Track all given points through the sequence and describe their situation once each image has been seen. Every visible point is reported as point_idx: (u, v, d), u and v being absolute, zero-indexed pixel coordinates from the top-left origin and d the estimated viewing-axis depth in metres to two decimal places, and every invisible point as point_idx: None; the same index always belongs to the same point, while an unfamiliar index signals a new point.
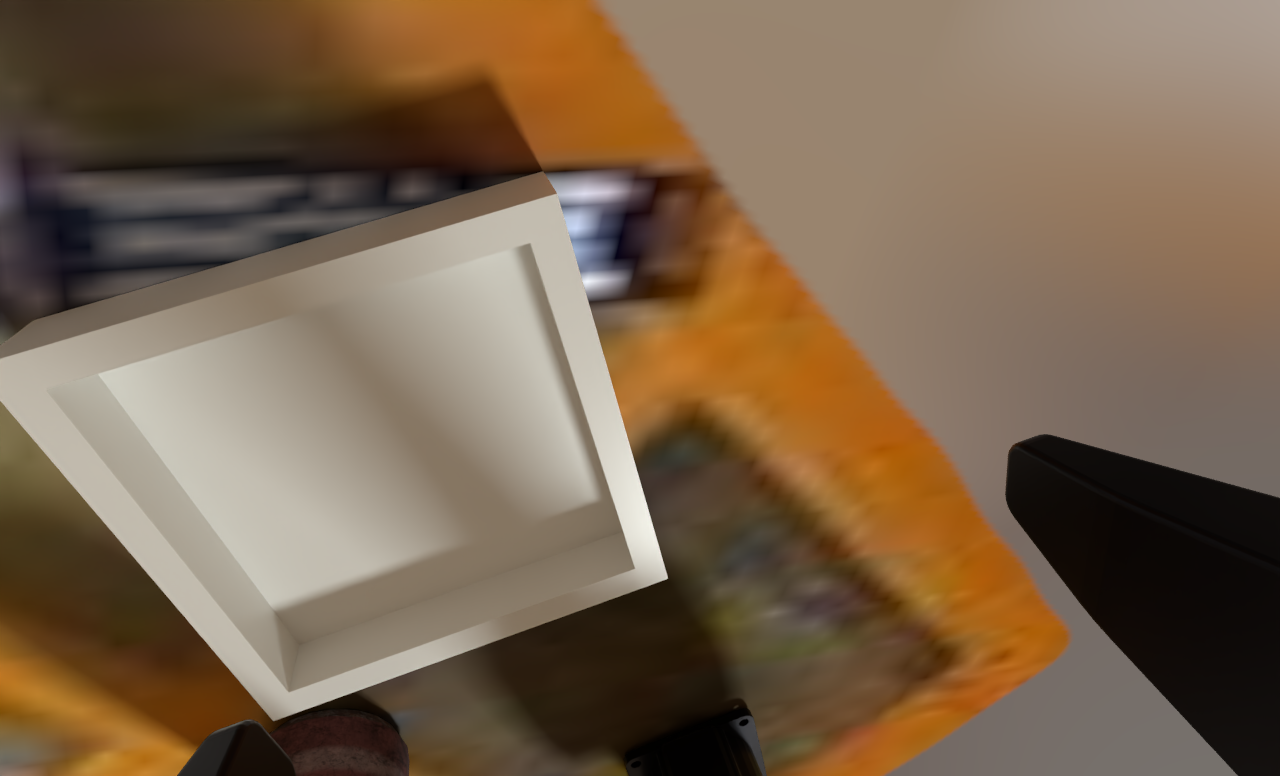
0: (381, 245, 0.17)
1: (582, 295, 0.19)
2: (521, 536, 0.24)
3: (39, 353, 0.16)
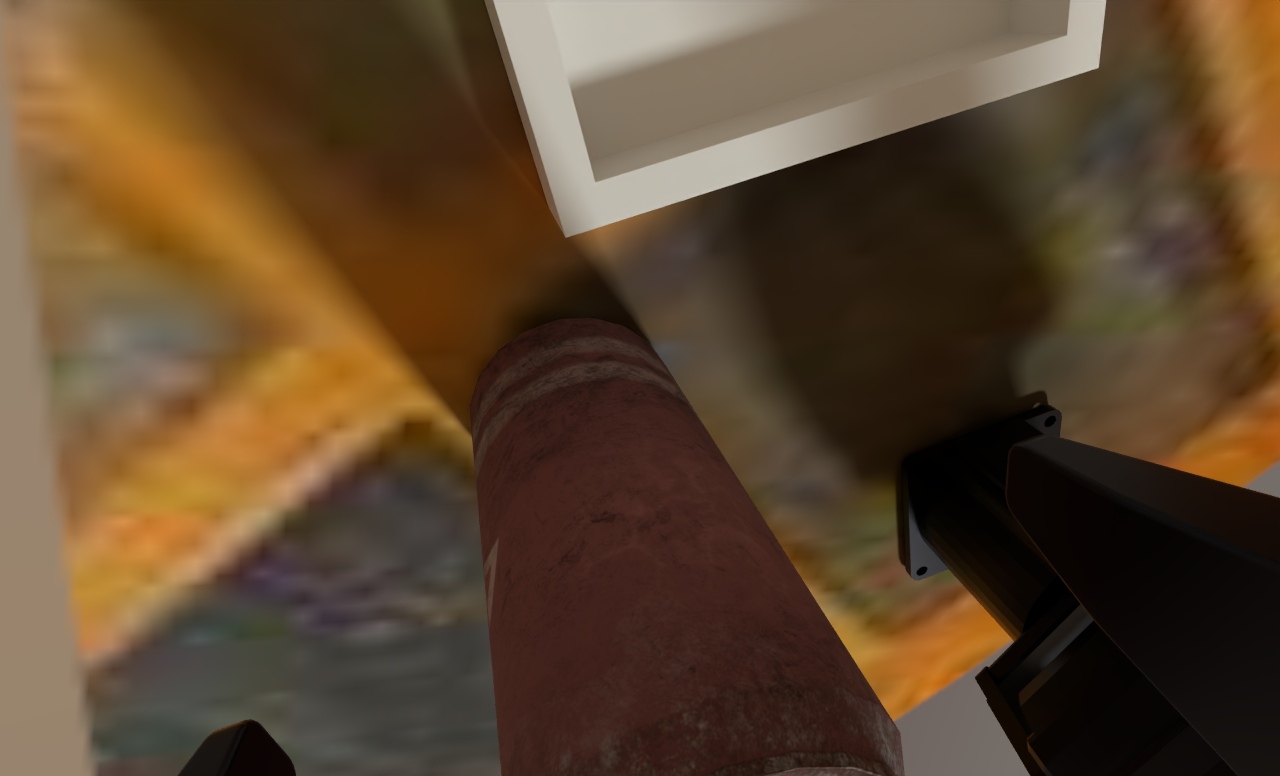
0: None
1: None
2: (889, 11, 0.17)
3: None
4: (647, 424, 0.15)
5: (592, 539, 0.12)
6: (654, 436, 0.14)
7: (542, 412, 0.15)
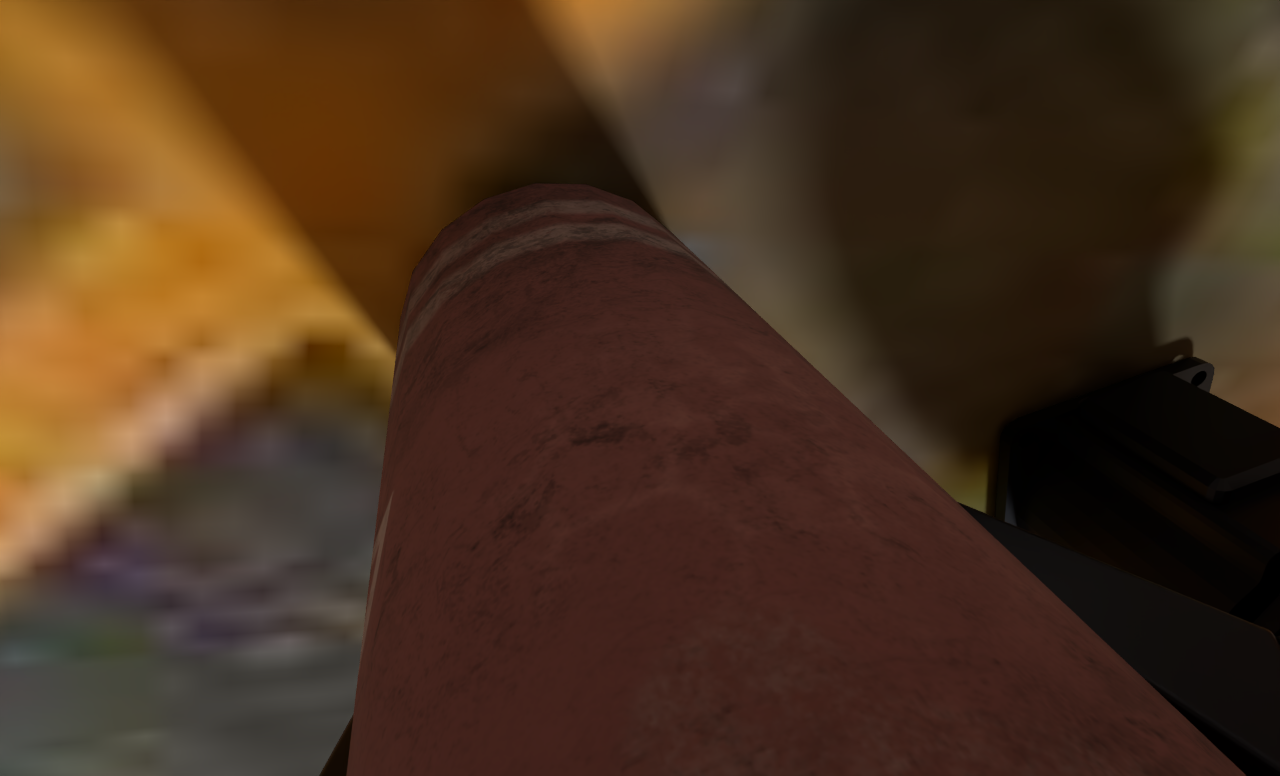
0: None
1: None
2: None
3: None
4: (681, 292, 0.08)
5: (572, 479, 0.05)
6: (696, 308, 0.08)
7: (494, 284, 0.09)
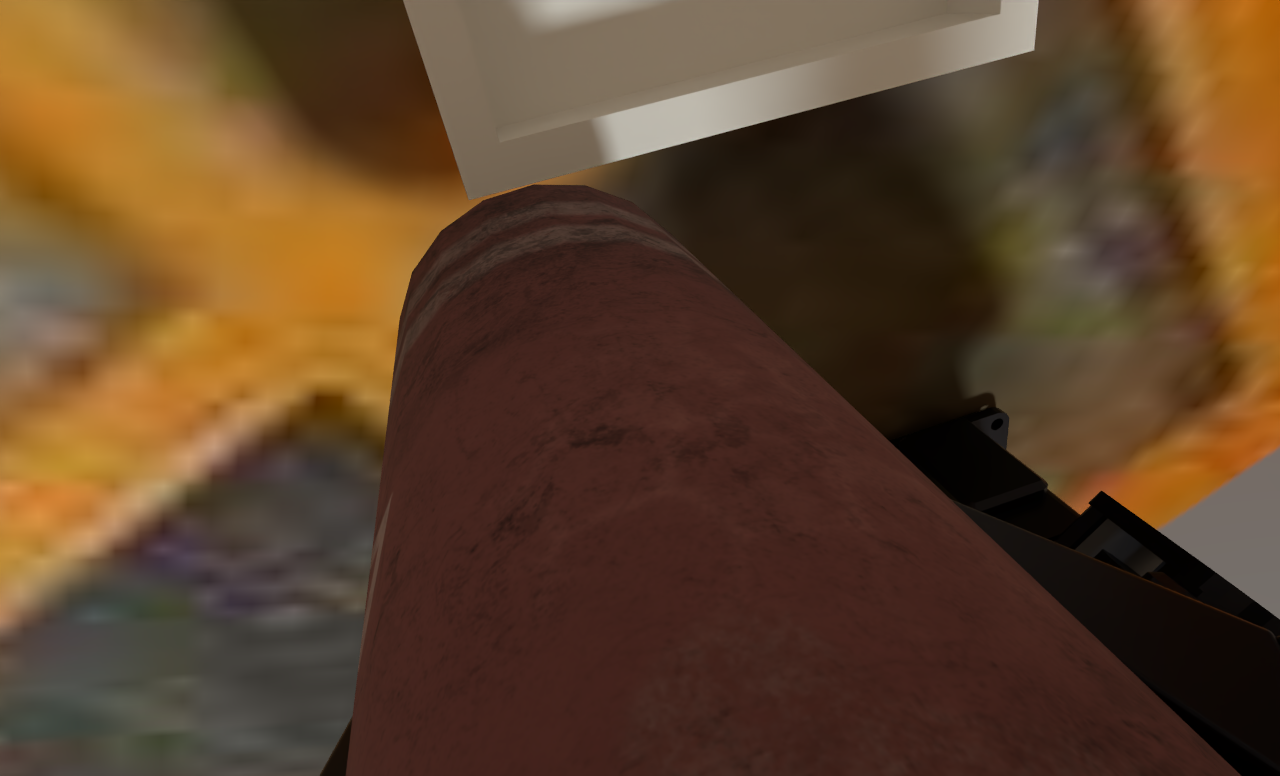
0: None
1: None
2: None
3: None
4: (680, 294, 0.08)
5: (571, 480, 0.05)
6: (694, 311, 0.08)
7: (493, 286, 0.09)
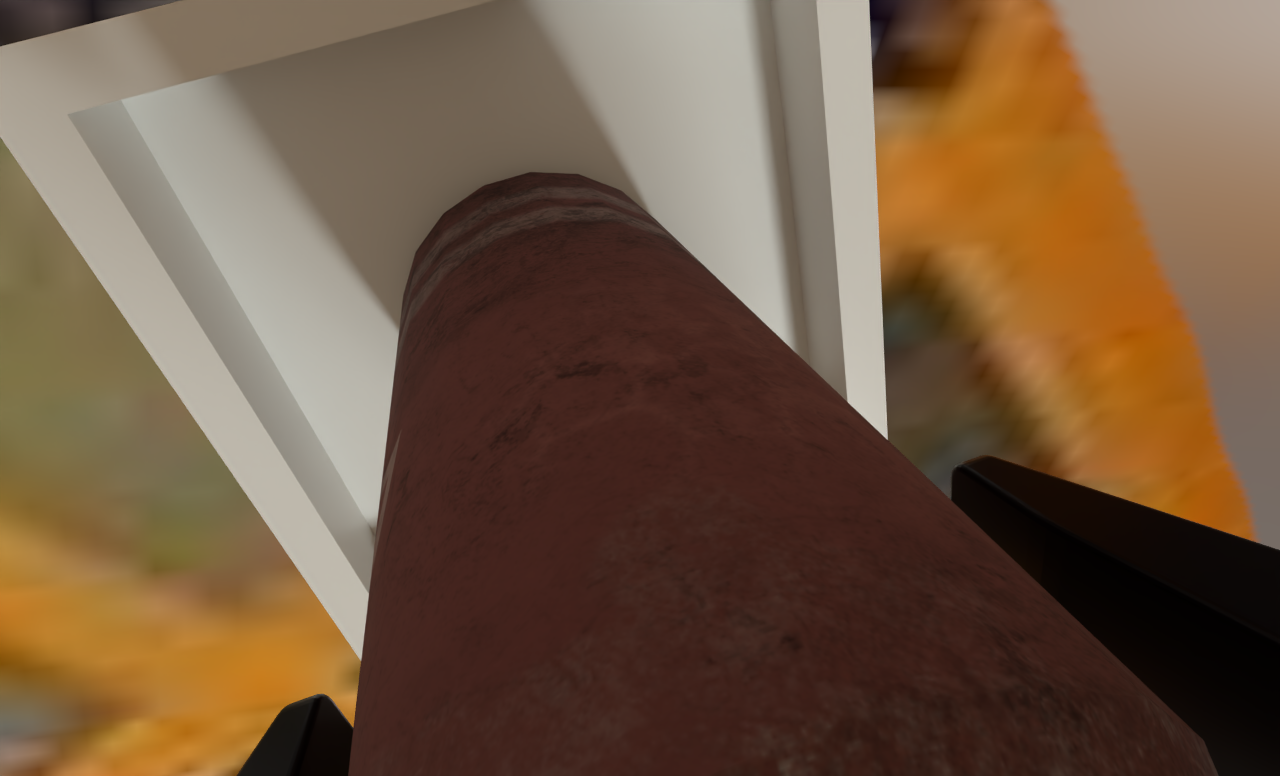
0: None
1: (864, 21, 0.12)
2: None
3: (57, 44, 0.10)
4: (658, 264, 0.09)
5: (555, 402, 0.06)
6: (670, 277, 0.09)
7: (492, 257, 0.10)
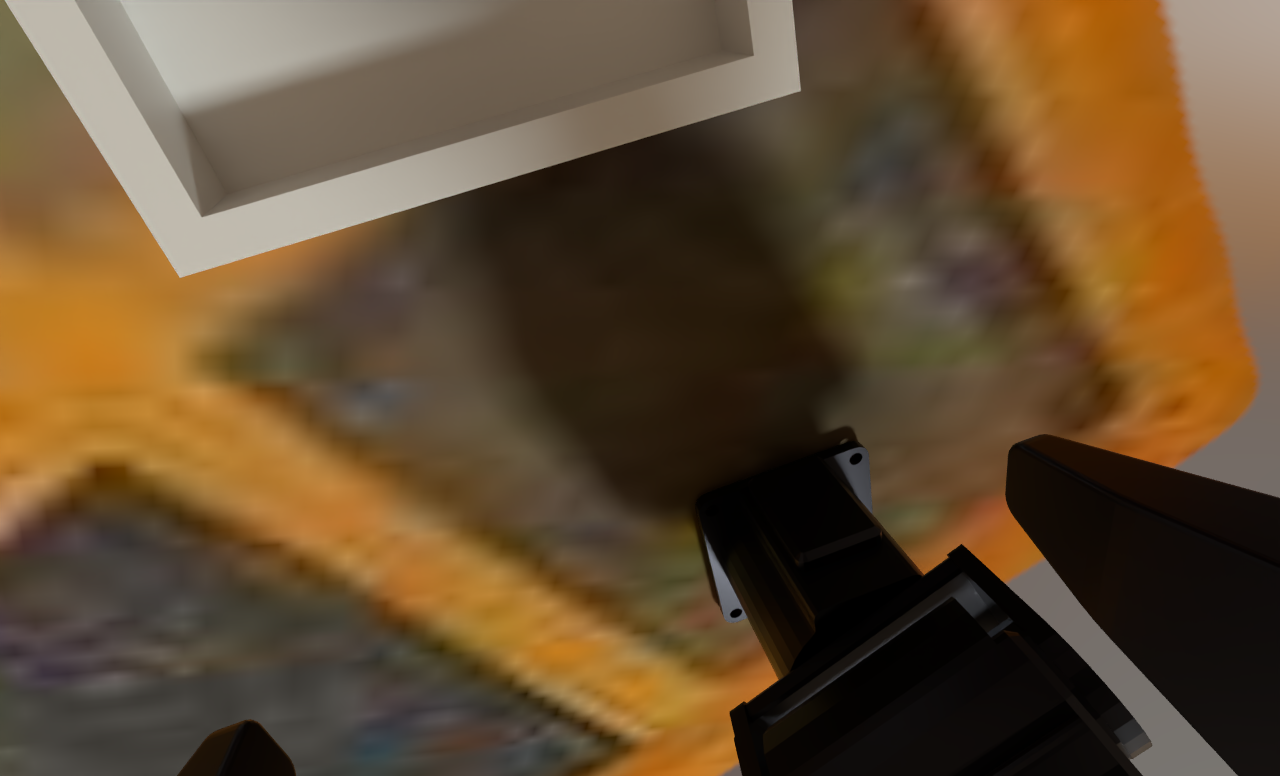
0: None
1: None
2: (571, 27, 0.16)
3: None
4: None
5: None
6: None
7: None
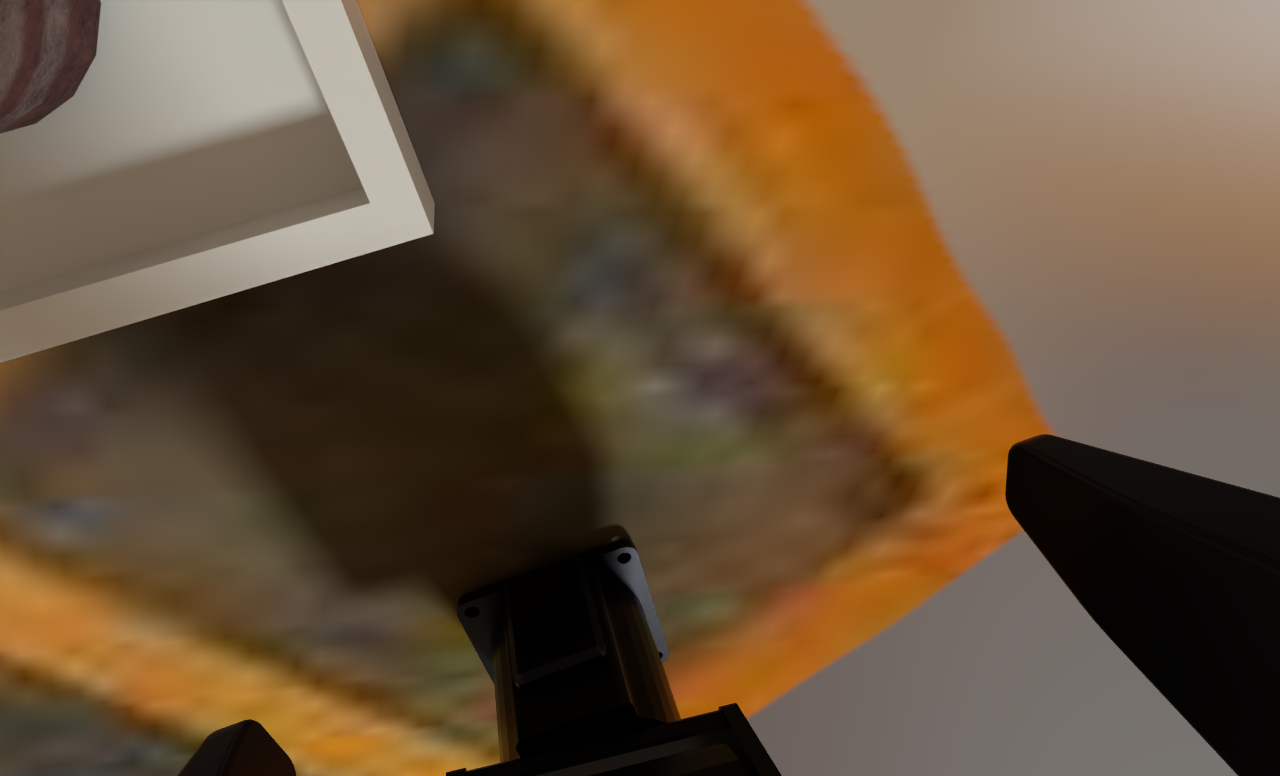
0: None
1: None
2: (200, 167, 0.15)
3: None
4: None
5: None
6: None
7: None
